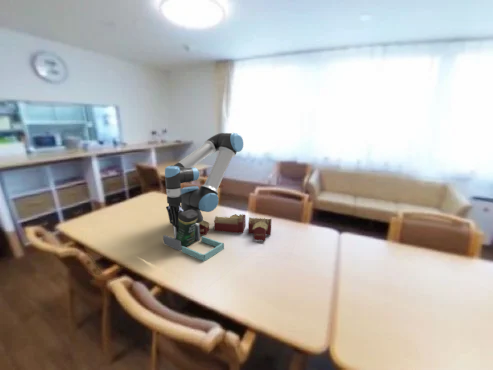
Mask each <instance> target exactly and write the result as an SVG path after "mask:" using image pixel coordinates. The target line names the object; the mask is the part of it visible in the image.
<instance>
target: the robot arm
mask: <svg viewBox="0 0 493 370" xmlns="http://www.w3.org/2000/svg"><path fill="white" fill-rule="evenodd" d="M243 148H244V140H243V137H242V135H241V134H240V133H236V132H220V133H218V134H215V135H212V136H210V137H209V138H208V139H206V140H205V141H204V143H203V144H202V145H201V146H199V147H197V148H196V149H195V150H193V151H192V152H191V153H189V154H188V155H187V156H185V157H183V158H182V159H181V160H179V161H178V162H176V163H175V164H174V165H167V166H166V167H164V178H165V180H164V181H165V187H166V188H165V190H166V191H165V192H166V201H167V204H168V205H167V206H166V207H165V208H166V211H167V214H168V220H169V224H172V229H173V238H176V237H177V233H178V227H179V214H180V213H181V212H184V211H187V210H191V209H192V210H194V211H196V212H197V214H198V216H197V221H196V223H199V222H201V221H203V220H204V217H203V214H202V212H205V213H210V212H212V211H214V210H216V208H217V207H218V204H219V196H218V195H219V192H218V190H219V188H220V187H219V186H220V185H221V182H222V180H223V178H224V175H225V173H226V171H227V169H228V166H229V165H230V163H231V160H232V158H235V156H236V154H237V153H239V152H241V151H242V150H243ZM216 152H219V153H218V154H217V157H216V159H215V161H214V163H213V165H212V167H211V170H210V171H209V174H208V175H207V178H206V180H205V181H204V184H202V185H200V187H199V186H198V185H195V186H194V185H193V186H185V187H183V188H182V185H181V184H184V183H190V182H194V181H197V180H198V179H199V178H200V171H199V169H198V168H197V167H194V166H197V165H198V164H199V163H201V162H202V161H203V160H204V159H206V158H207V157H208V156H209V155H211V154H215V153H216Z"/></svg>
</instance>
